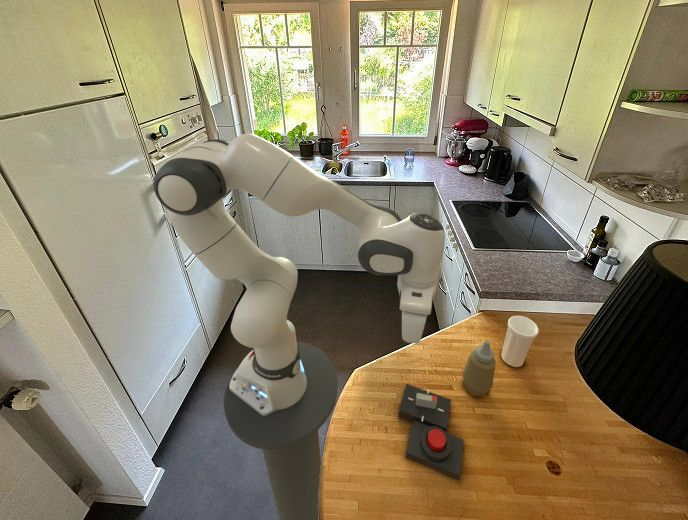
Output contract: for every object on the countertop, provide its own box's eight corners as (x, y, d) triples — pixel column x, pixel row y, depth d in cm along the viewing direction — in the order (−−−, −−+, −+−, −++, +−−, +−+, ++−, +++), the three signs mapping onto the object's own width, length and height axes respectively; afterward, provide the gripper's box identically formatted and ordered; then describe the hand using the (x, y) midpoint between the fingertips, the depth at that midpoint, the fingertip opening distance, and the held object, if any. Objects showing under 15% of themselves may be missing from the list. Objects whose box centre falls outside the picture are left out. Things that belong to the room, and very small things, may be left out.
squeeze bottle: (459, 395, 89) (471, 350, 81) (460, 371, 96) (470, 327, 87) (491, 404, 87) (506, 358, 78) (489, 378, 94) (502, 334, 85)
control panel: (397, 419, 83) (398, 412, 82) (406, 388, 91) (407, 381, 89) (445, 437, 79) (446, 430, 78) (449, 404, 87) (451, 396, 85)
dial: (415, 405, 83) (416, 397, 82) (415, 400, 85) (417, 392, 83) (435, 409, 83) (436, 401, 81) (435, 403, 84) (436, 395, 82)
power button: (425, 447, 74) (426, 443, 73) (429, 430, 77) (429, 426, 77) (443, 454, 73) (444, 450, 72) (446, 437, 76) (447, 433, 75)
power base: (405, 457, 76) (406, 448, 74) (413, 425, 82) (414, 415, 80) (458, 480, 72) (461, 471, 70) (461, 444, 78) (464, 434, 76)
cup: (528, 373, 95) (541, 339, 88) (498, 366, 97) (509, 332, 90) (524, 352, 102) (536, 318, 95) (496, 345, 104) (506, 312, 97)
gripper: (406, 254, 82) (401, 295, 89) (399, 310, 65) (393, 356, 71) (431, 257, 81) (424, 299, 88) (431, 315, 64) (422, 362, 70)
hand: (410, 325), depth 79 cm, fingers open, 8 cm apart
